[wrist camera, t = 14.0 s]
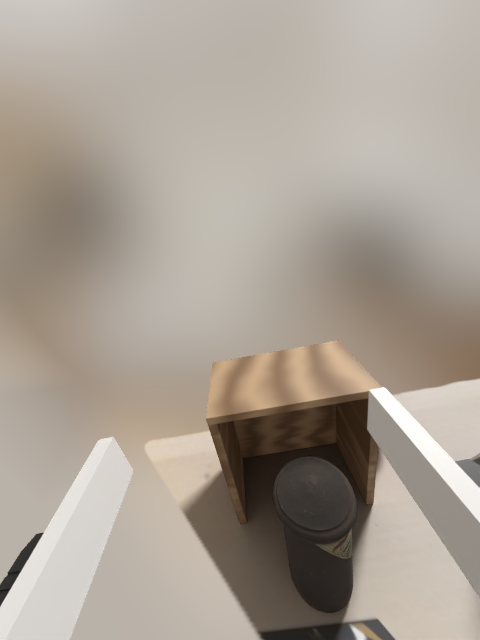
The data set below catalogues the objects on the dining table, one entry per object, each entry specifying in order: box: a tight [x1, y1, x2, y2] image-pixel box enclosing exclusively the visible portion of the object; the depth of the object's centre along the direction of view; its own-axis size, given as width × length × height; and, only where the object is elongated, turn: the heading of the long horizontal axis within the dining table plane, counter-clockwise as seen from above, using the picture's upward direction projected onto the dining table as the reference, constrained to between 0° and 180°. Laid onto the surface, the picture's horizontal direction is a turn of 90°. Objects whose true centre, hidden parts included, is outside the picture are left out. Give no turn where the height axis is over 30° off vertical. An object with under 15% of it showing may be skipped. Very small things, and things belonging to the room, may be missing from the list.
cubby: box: [206, 341, 382, 524], centre depth 41 cm, size 23×13×25 cm, turn 93°
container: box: [273, 456, 357, 613], centre depth 29 cm, size 9×9×20 cm
